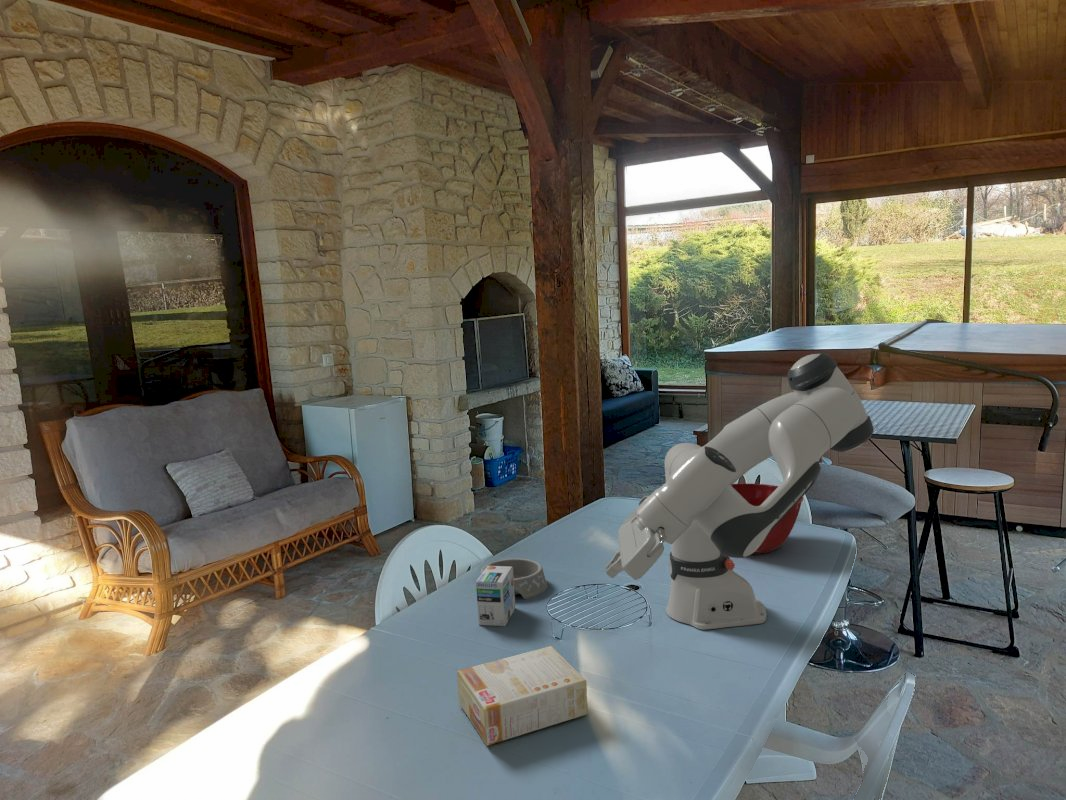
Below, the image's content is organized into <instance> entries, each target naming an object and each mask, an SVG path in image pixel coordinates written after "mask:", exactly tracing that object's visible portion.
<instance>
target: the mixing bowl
mask: <svg viewBox="0 0 1066 800" xmlns="http://www.w3.org/2000/svg"><path fill="white" fill-rule="evenodd" d="M731 486H732V487H733V488H734V489H735V490H736V491H737V492H738V493H739V494H740V495H741V496H742V497H743V498H744V499H745V500H746V501H747V502H748V503H749V504H751V505H753V506H760V505H761V504H762V503H763V502H764V501H765V500H766V499H767V498H768V497H769V496H770V495H771V494H772V493H773V492H774V491H775V490H776V489H777V487H778V486H779V485H773V484H764V483H762V484H761V483H734V484H732V485H731ZM803 501H804V496H803V497H802V498H801V499H800V500H799V501H798V503H797V504H796V505H795V506H794V507H793V508H792V509H791V510H790V511H789V512H788V513H787V514H786V515H785V516H784V518H783V519H782V520H781V521H780V522H779V523H778V524H777V525H776V526H775V527H774V528H773V529H772V531H771V532H770V533H769V534H768V536H767V537H766V538H765V539H764V541H763V542H762V544H761V545H760V546H759V548H758V549H757V550H756V551H755V552H753V553H752V554H756V555H757V554H767V553H771V552H772V551H774V550H775V549H778V548H779V547H781V546H782V545H783V544H784V543H785V542H786V540H787V539H788V538H789V535H790V534H791V533H792V530H793V528H794V526H795V524H796V522H797V519H798V516H799V512H800V509H801V505H802V502H803ZM752 554H751V555H752Z"/></svg>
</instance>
